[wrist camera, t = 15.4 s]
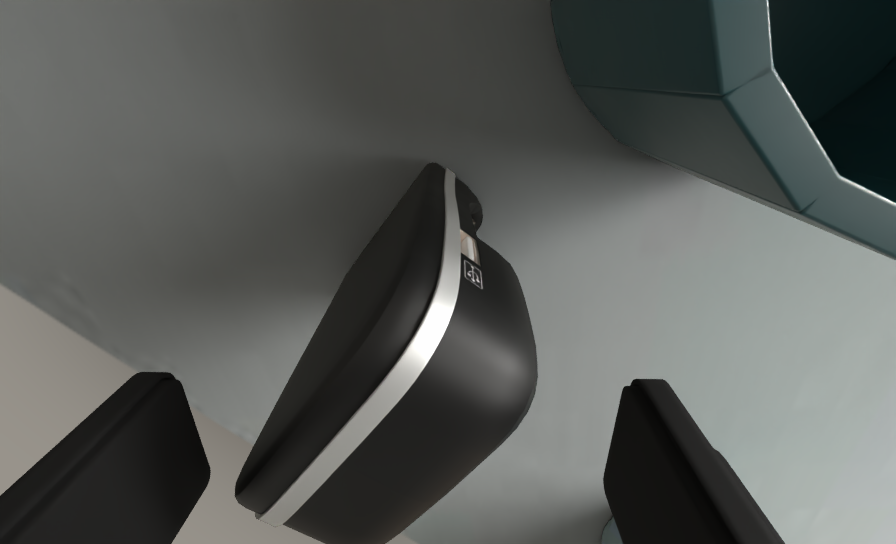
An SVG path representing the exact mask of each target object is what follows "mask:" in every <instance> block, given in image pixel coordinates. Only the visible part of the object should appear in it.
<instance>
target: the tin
mask: <svg viewBox="0 0 896 544" xmlns="http://www.w3.org/2000/svg"><path fill="white" fill-rule="evenodd" d="M551 9H552V20H553V25H554V30H555V35H556V39H557V44H558V48H559V51H560V54H561V57H562V60H563V63H564V66H565V69H566V71H567V74H568V76H569V78H570V80H571V83H572V84H573V87H574V88H575V90H576V92H577V93H578V95H579V96H580V98H581V99H582V101H583V102H584V104H585V105H586V107H587V108H588V109H589V111H590V112H591V113H592V114H593V116H594V117H595V118H596V119H597V120H598V121H599V122H600V123H601V124H602V125H603V126H604V127H605V128H606V129H607V130H608V131H609V132H610V133H611V134H612V136H613V137H614V138H615V139H617V140H618V141H619V142H621V143H623V144H625V145H627V146H629V147H632V148H634V149H636V150H638V151H640V152H642V153H644V154H647V155H649V156H651V157H653V158H655V159H658V160H660V161H662V162H664V163H666V164H668V165H671V166H673V167H675V168H677V169H680V170H682V171H684V172H687V173H689V174H692V175H694V176H696V177H699V178H701V179H704V180H706V181H708V182H711V183H713V184H715V185H718V186H720V187H723V188H725V189H727V190H730V191H732V192H734V193H737V194H739V195H742V196H744V197H746V198H749V199H751V200H754V201H756V202H758V203H761V204H763V205H765V206H768V207H770V208H773V209H775V210H777V211H780V212H782V213H784V214H787V215H789V216H792V217H794V218H796V219H799V220H801V221H804V222H806V223H808V224H811V225H813V226H815V227H818V228H820V229H823V230H825V231H827V232H830V233H832V234H835V235H837V236H839V237H842V238H844V239H846V240H849V241H851V242H854V243H856V244H858V245H861V246H863V247H865V248H868V249H870V250H873V251H875V252H877V253H880V254H882V255H885V256H887V257H889V258H892V259H894V260H896V0H551Z"/></svg>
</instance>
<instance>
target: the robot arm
mask: <svg viewBox="0 0 896 544" xmlns="http://www.w3.org/2000/svg"><path fill="white" fill-rule="evenodd" d="M209 479H210V466H209V463H208V460H207V457H206V454H205V452H204V448H203V445H202V443H201V439H200V437H199V434H198V431H197V428H196V425H195V422H194V419H193V416H192V413H191V410H190V407H189V404H188V401H187V398H186V395H185V392H184V389H183V386H182V384H181V382H180V381H179V380H176V379H175V377H174V376H173V375H172V374H171V373H167V372H140V373H137V374H135V375H134V376H132V377H131V378H130V379H129V380H128V381H127V382H126V383H124V384H123V385H122V386H121V387H120V388H119V389H118V390H117V391H116V392H115V393H114V394H112V395H111V396H110V397H109V398H108V399H107V400H106V401H105V402H104V403H102V404H101V405H100V406H99V407H98V408H97V409H96V410H95V411H94V412H93V413H91V414H90V415H89V416H88V417H87V418H86V419H85V420H84V421H82V422H81V423H80V424H79V425H78V426H77V427H76V428H75V429H74V430H73V431H71V432H70V433H69V434H68V435H67V436H66V437H65V438H64V439H63V440H61V441H60V443H58V444H57V445H56V446H55V447H54V448H53V449H52V450H50V452H48V453H47V454H46V455H45V456H44V457H43V458H42V459H40V460H39V461H38V462H37V463H36V464H35V465H34V466H33V467H32V468H31V469H29V470H28V471H27V472H26V473H25V474H24V475H23V476H22V477H21V478H19V479H18V480H17V481H16V482H15V483H14V484H13V485H12V486H11V487H10V488H9V489H7V490H6V491H5V492H4V493H3V494H2V495H1V496H0V544H171V543H172V542H173V540H174V538H175V537H176V535H177V534H178V532H179V530H180V529H181V527H182V526H183V524H184V522H185V521H186V519H187V518H188V516H189V514H190V513H191V511H192V510H193V508H194V506H195V505H196V503H197V501H198V500H199V498H200V497H201V495H202V493H203V492H204V490H205V488H206V487H207V485H208V482H209ZM603 481H604V490H605V494H606V497H607V500H608V503H609V506H610V509H611V511H612V514H613V517H614V520H615V523H616V525H617V528H618V531H619V534H620V537H621V540H622V542H623V544H785V543H784V541H783V540H782V539H781V537H780V536H779V534H778V533H777V532H776V530H775V529H774V527H773V526H772V524H771V523H770V522H769V520H768V519H767V517H766V516H765V515H764V513H763V512H762V510H761V509H760V507H759V506H758V505H757V503H756V502H755V500H754V499H753V498H752V496H751V495H750V493H749V492H748V490H747V489H746V488H745V486H744V485H743V483H742V482H741V480H740V479H739V478H738V476H737V475H736V473H735V472H734V471H733V469H732V468H731V466H730V465H729V463H728V462H727V461H726V459H725V458H724V457H723V456H722V455H721V454H720V452H718V451H717V450H715V449H714V448H713V447H712V446H711V445H710V443H709V442H708V440H707V439H706V437H705V436H704V434H703V433H702V432H701V430H700V429H699V427H698V426H697V424H696V423H695V421H694V420H693V419H692V417H691V416H690V414H689V413H688V411H687V410H686V408H685V407H684V406H683V404H682V403H681V401H680V400H679V398H678V397H677V395H676V394H675V393H674V391H673V390H672V388H671V387H670V385H669V384H668V383H667V382H666V381H665V380H663V379H634V380H633V381H632V383H631V386H625V387H624V388H623V391H622V395H621V399H620V404H619V408H618V413H617V417H616V422H615V427H614V431H613V436H612V440H611V445H610V449H609V454H608V459H607V463H606V468H605V472H604V478H603Z"/></svg>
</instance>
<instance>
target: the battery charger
mask: <svg viewBox="0 0 896 544" xmlns="http://www.w3.org/2000/svg"><path fill="white" fill-rule="evenodd" d="M455 175H456V174H455V173H453V172H452V171H451V170H449V169H448V168H446V169H444V168H443V167H442V166H441V165H439V164H437V163H434V162H432V163H429V164H428V165H427V166H426V167H425V168H424V169H423V170H422V172H421V173H420V174H419V176H418V177H417V179H416V180H415V181H414V183H413V184H412V185H411V187H410V188H409V189H408V191H407V192H406V193H405V195H404V196H403V198H402V199H401V200H400V202H399V203H398V204H397V206H396V207H395V208H394V210H393V211H392V213H391V214H390V215H389V217H388V218H387V219H386V221H385V222H384V223H383V225H382V226H381V228H380V229H379V230H378V232H377V233H376V234H375V236H374V237H373V238H372V240H371V241H370V243H369V244H368V245H367V247H366V248H365V249H364V251H363V252H362V253H361V255H360V256H359V258H358V259H357V260H356V262H355V263H354V264H353V266H352V267H351V269H350V270H349V271H348V273H347V274H346V276H345V278H344V279H343V281H342V283H341V285H340V287H339V289H338V291H337V293H336V295H335V296H334V298H333V300H332V302H331V304H330V306H329V308H328V309H327V311H326V313H325V315H324V317H323V318H322V320H321V322H320V324H319V326H318V328H317V329H316V331H315V333H314V335H313V337H312V338H311V340H310V342H309V344H308V346H307V348H306V349H305V351H304V353H303V355H302V357H301V359H300V360H299V362H298V364H297V366H296V368H295V370H294V372H293V373H292V375H291V377H290V379H289V381H288V383H287V384H286V386H285V388H284V390H283V392H282V394H281V396H280V397H279V399H278V401H277V403H276V405H275V407H274V409H273V411H272V412H271V414H270V416H269V418H268V420H267V422H266V424H265V426H264V427H263V429H262V431H261V433H260V435H259V437H258V439H257V441H256V443H255V444H254V446H253V448H252V450H251V452H250V454H249V456H248V458H247V460H246V462H245V464H244V466H243V468H242V470H241V472H240V475H239V477H238V479H237V482H236V486H235V497H236V499H237V501H238V503H239V504H241V505H242V506H244V507H245V508H247V509H249V510H251V511H254V512H255V517H256V519H258V520H260V521H263V522H265V523H267V524H270V525H272V526H274V527H278V526H280V525H282V524H283V525H285V526H287V527H289V528H292V529H294V530H296V531H298V532H301V533H303V534H305V535H307V536H310V537H312V538H314V539H316V540H319V541H321V542H323V543H325V544H385V543H387V542H388V541H390V540H391V539H392V538H394V537H395V536H396V535H398V534H399V533H401V532H402V531H403V530H404V529H405V528H407V527H408V526H409V525H410V524H411V523H413V522H414V521H415V520H416V519H417V518H419V517H420V516H421V515H422V514H423V513H425V512H426V511H427V510H428V509H429V508H431V507H432V506H433V505H434V504H435V503H437V502H438V501H439V500H440V499H441V498H442V497H444V496H445V495H446V494H447V493H448V492H449V491H451V490H452V489H453V488H454V487H455V486H456V485H457V484H458V483H459V482H460V481H462V480H463V479H464V478H465V477H466V476H467V475H468V474H469V473H470V472H471V471H473V470H474V469H475V468H476V467H477V466H478V465H479V464H480V463H481V462H482V461H484V460H485V459H486V458H487V457H488V456H489V455H490V454H491V453H492V452H494V451H495V450H496V449H497V448H498V447H499V446H500V445H501V444H502V443H503V442H504V441H505V440H506V439H507V438H508V437H509V436H510V435H511V434H512V433H513V432H514V431H515V430H516V429H517V427H518V426H519V424H520V423H521V421H522V420H523V418H524V417H525V415H526V414H527V412H528V410H529V408H530V405H531V403H532V400H533V398H534V395H535V391H536V384H537V378H538V372H537V355H536V345H535V340H534V335H533V330H532V326H531V322H530V317H529V313H528V309H527V305H526V302H525V298H524V295H523V292H522V289H521V286H520V283H519V280H518V277H517V275H516V273H515V272H514V270H513V268H512V266H511V264H510V263H509V262H507V261H506V260H505V259H504V258H503V257H502V256H501V255H500V254H499V253H498V252H497V251H495V250H494V249H492V248H491V247H490V246H488V245H487V244H486V243H484V242H483V241H482V240H480V239H479V238H478V237H477V236H476V232H477V230H478V229H479V227H480V226H481V223H482V218H483V215H482V207H481V205H480V203H479V201H478V199H477V197H476V196H475V195H474V194H473V193H472V192H471V190H470V189H469V188H468V186H466V185H465V184H464V183H463V182H461V181H460V180H459V179H457V178H456V177H455Z"/></svg>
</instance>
